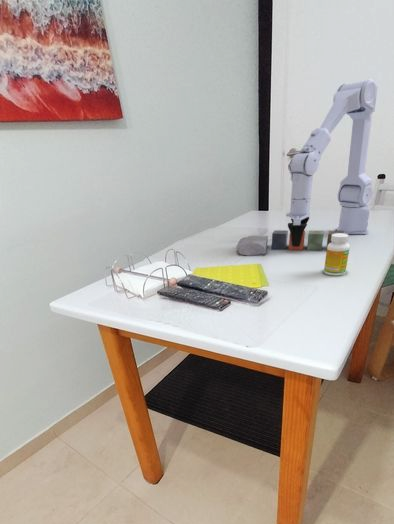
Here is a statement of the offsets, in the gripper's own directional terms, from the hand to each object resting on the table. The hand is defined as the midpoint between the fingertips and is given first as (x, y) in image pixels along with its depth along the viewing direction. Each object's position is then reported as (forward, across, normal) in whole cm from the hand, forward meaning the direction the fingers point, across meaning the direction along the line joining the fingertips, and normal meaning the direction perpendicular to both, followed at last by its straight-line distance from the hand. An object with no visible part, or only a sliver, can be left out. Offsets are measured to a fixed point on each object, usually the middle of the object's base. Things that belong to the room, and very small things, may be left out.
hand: (297, 243), depth 110 cm
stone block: (+2, +4, -14) cm, 15 cm away
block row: (+1, 0, +3) cm, 3 cm away
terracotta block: (+2, 0, 0) cm, 2 cm away
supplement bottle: (+2, +22, +12) cm, 25 cm away
